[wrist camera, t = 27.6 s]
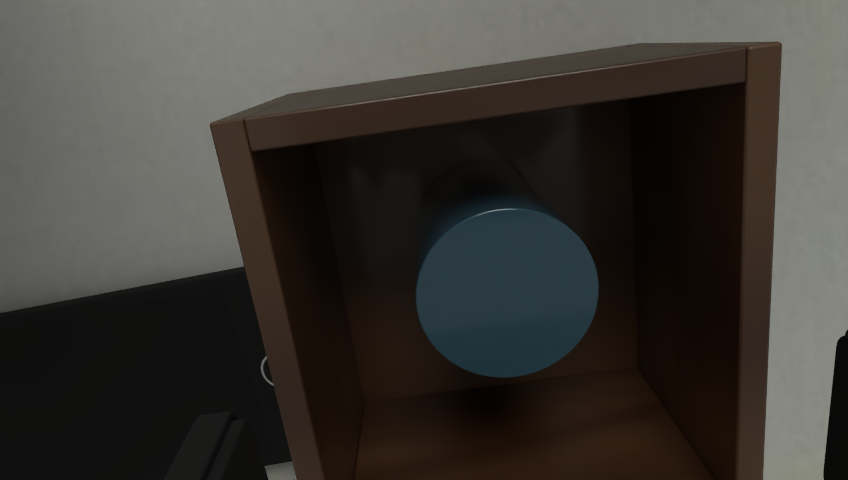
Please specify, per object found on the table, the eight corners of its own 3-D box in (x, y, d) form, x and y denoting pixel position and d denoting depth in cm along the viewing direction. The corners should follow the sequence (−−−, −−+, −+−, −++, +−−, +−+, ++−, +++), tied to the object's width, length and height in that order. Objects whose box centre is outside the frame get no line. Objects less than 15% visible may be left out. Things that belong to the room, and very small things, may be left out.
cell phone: (344, 440, 27) (341, 453, 26) (-40, 507, 27) (-55, 522, 27) (292, 255, 24) (287, 263, 23) (-132, 336, 25) (-152, 347, 24)
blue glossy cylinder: (406, 169, 22) (402, 222, 16) (540, 150, 22) (594, 195, 15) (425, 292, 24) (428, 388, 17) (550, 276, 24) (603, 366, 17)
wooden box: (286, 94, 22) (208, 123, 14) (642, 43, 22) (783, 41, 13) (350, 409, 26) (320, 579, 18) (650, 371, 26) (761, 526, 18)
